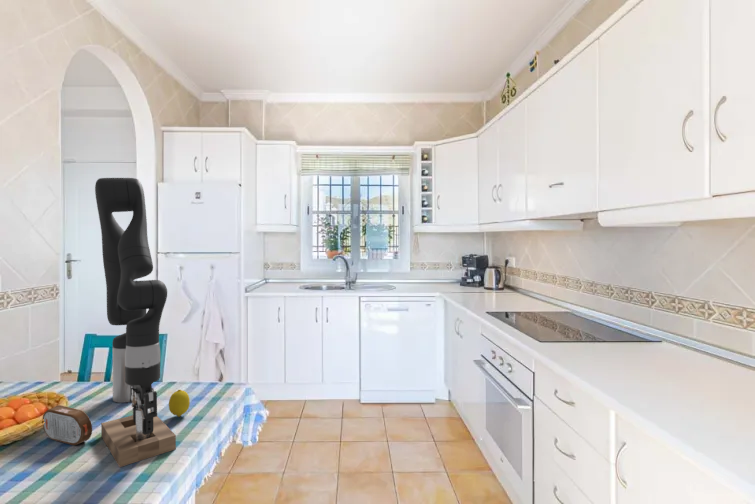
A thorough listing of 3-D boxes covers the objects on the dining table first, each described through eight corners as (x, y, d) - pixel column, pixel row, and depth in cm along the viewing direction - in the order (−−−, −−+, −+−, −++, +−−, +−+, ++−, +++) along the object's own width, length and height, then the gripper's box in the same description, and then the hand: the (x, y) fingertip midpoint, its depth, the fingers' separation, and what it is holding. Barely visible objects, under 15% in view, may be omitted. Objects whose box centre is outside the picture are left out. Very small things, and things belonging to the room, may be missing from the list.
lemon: (181, 421, 116) (181, 393, 115) (164, 419, 117) (164, 392, 116) (193, 413, 121) (193, 387, 121) (177, 411, 122) (177, 385, 122)
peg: (134, 449, 100) (134, 409, 99) (147, 445, 102) (147, 406, 102) (137, 454, 98) (137, 413, 97) (151, 450, 100) (151, 410, 99)
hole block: (101, 436, 106) (101, 423, 106) (151, 422, 115) (151, 410, 115) (119, 467, 92) (119, 452, 92) (175, 449, 100) (175, 435, 100)
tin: (93, 443, 103) (93, 410, 103) (80, 449, 100) (80, 415, 100) (53, 433, 108) (52, 402, 107) (39, 439, 105) (39, 406, 104)
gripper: (118, 358, 102) (118, 422, 102) (133, 372, 91) (133, 442, 92) (151, 353, 107) (151, 413, 107) (168, 365, 97) (168, 432, 97)
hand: (142, 427), depth 100 cm, fingers open, 8 cm apart
